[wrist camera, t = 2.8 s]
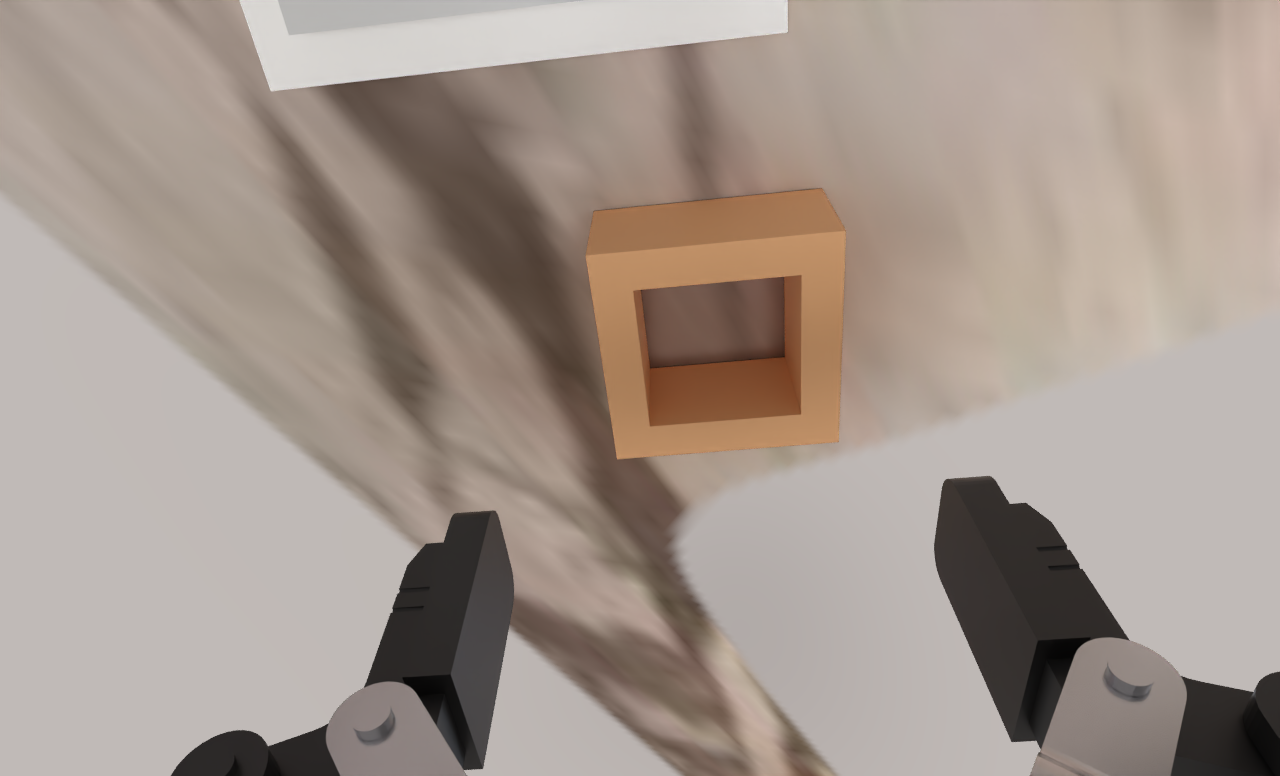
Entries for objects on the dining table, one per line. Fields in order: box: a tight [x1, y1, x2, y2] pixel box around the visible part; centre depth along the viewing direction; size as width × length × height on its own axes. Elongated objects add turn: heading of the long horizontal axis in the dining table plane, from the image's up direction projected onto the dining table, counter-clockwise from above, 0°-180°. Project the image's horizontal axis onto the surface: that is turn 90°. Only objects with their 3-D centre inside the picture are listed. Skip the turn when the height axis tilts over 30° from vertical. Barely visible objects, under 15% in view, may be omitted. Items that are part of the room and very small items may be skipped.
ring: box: [586, 188, 846, 459], centre depth 21 cm, size 6×6×3 cm
